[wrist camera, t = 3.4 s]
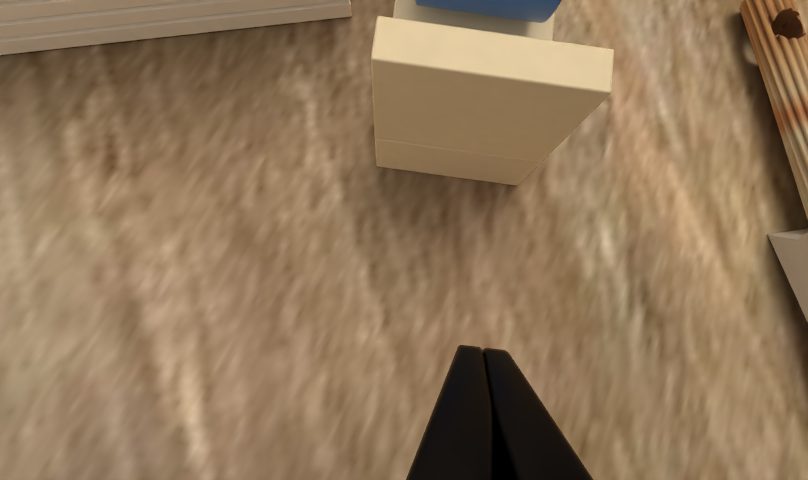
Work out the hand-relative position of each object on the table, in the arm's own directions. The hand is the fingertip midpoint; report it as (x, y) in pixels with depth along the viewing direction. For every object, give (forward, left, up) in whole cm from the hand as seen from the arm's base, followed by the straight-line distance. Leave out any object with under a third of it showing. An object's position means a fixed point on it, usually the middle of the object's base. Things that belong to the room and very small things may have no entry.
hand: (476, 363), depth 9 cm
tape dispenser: (+7, -12, -11) cm, 17 cm away
